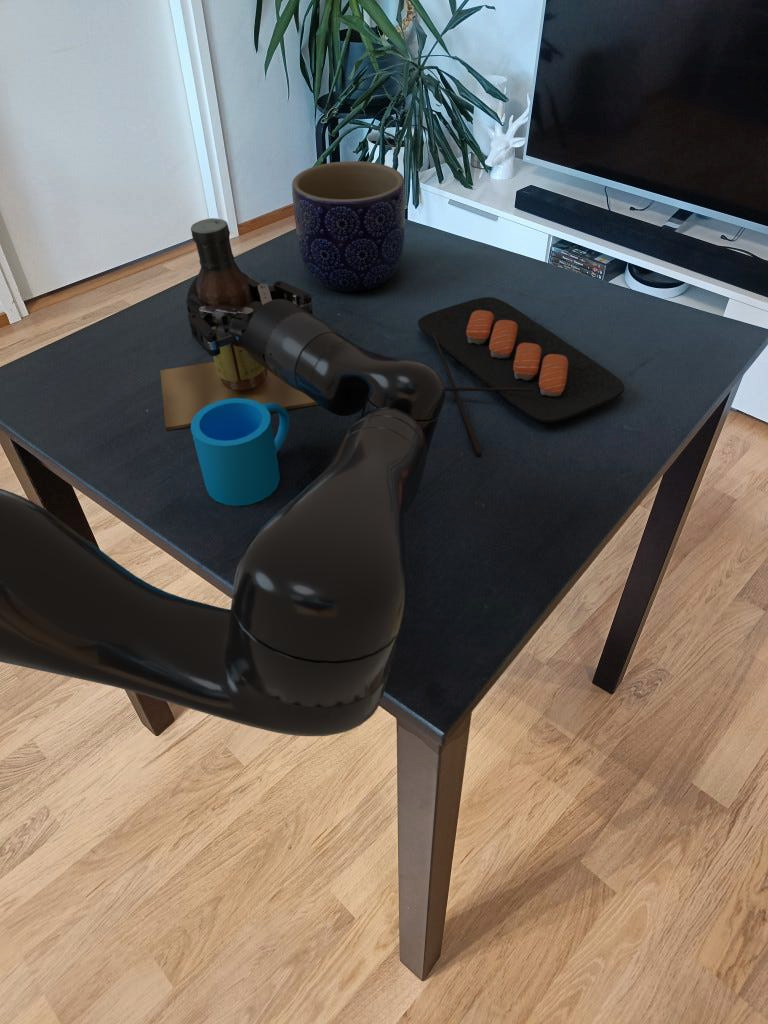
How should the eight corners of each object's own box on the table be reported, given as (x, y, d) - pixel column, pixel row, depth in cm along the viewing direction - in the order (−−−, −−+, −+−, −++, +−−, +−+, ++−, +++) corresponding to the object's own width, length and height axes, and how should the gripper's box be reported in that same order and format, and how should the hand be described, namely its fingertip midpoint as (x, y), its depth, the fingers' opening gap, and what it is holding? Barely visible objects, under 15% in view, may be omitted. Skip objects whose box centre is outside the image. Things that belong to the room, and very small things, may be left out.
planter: (297, 303, 108) (285, 202, 97) (305, 255, 120) (295, 161, 109) (406, 300, 108) (406, 200, 97) (403, 253, 119) (403, 159, 109)
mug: (243, 516, 75) (230, 456, 69) (190, 486, 78) (173, 426, 73) (317, 456, 81) (311, 398, 76) (265, 431, 85) (256, 373, 79)
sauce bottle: (270, 365, 93) (246, 211, 80) (266, 392, 89) (240, 234, 75) (220, 368, 93) (187, 214, 80) (213, 394, 89) (178, 236, 75)
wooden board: (166, 430, 85) (165, 427, 85) (161, 373, 95) (160, 370, 94) (328, 402, 89) (328, 399, 89) (308, 349, 98) (308, 346, 98)
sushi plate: (632, 401, 88) (639, 375, 86) (430, 486, 78) (431, 459, 75) (491, 304, 106) (493, 280, 104) (311, 362, 96) (309, 337, 93)
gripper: (348, 292, 76) (262, 244, 85) (233, 340, 69) (153, 282, 79) (352, 354, 81) (270, 302, 91) (245, 403, 75) (169, 342, 84)
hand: (216, 293), depth 85 cm, fingers closed on sauce bottle, 6 cm apart
